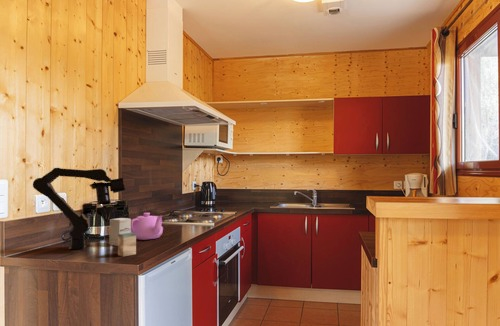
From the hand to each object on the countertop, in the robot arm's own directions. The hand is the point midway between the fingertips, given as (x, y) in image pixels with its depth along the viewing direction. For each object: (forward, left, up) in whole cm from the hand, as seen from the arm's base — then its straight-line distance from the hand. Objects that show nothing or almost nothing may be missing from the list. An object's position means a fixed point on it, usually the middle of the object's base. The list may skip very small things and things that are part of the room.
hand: (106, 223), depth 166 cm
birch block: (+9, +10, -13) cm, 18 cm away
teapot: (-28, +17, -13) cm, 35 cm away
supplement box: (-15, +4, -13) cm, 20 cm away
